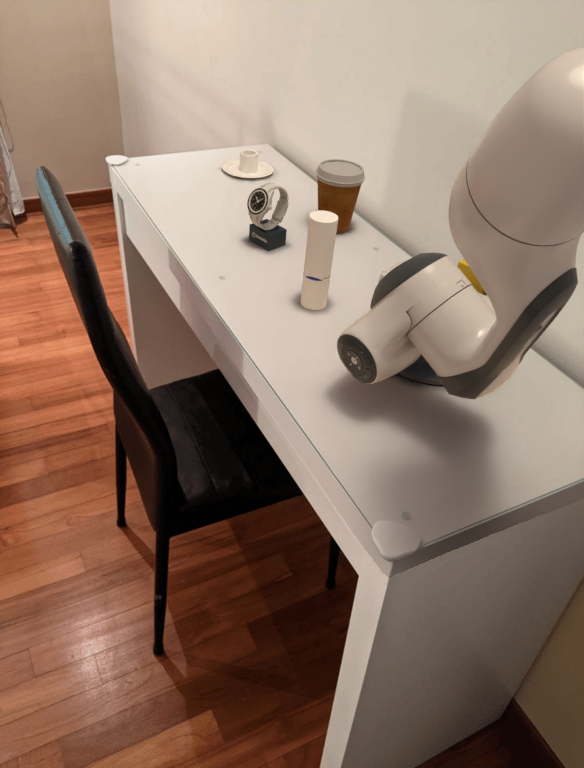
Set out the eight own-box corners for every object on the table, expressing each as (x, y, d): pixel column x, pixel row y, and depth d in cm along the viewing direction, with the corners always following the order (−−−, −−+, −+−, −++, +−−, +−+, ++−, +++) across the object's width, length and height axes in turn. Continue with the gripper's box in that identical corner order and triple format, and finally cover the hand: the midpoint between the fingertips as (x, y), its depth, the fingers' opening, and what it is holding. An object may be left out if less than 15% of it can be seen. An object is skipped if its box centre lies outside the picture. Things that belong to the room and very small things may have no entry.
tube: (318, 294, 102) (329, 209, 93) (331, 307, 99) (343, 220, 90) (295, 298, 100) (304, 212, 91) (307, 312, 98) (318, 224, 88)
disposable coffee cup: (357, 219, 127) (366, 161, 119) (356, 239, 119) (366, 179, 112) (311, 213, 127) (318, 155, 119) (308, 233, 119) (314, 173, 112)
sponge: (468, 326, 93) (485, 273, 87) (443, 313, 95) (458, 261, 90) (485, 315, 96) (502, 263, 90) (460, 303, 98) (475, 252, 93)
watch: (240, 242, 114) (242, 185, 107) (272, 231, 119) (276, 176, 112) (260, 254, 111) (264, 196, 104) (292, 242, 116) (297, 186, 109)
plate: (492, 339, 96) (494, 334, 95) (470, 400, 84) (472, 395, 83) (390, 307, 101) (391, 302, 100) (355, 361, 88) (356, 356, 88)
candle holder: (234, 183, 136) (235, 164, 133) (213, 164, 144) (213, 145, 141) (282, 177, 141) (283, 159, 138) (259, 159, 149) (260, 141, 146)
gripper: (498, 329, 78) (546, 294, 86) (372, 267, 88) (425, 241, 96) (484, 368, 82) (531, 331, 90) (365, 305, 92) (417, 276, 100)
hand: (476, 284), depth 93 cm, fingers closed on sponge, 4 cm apart
